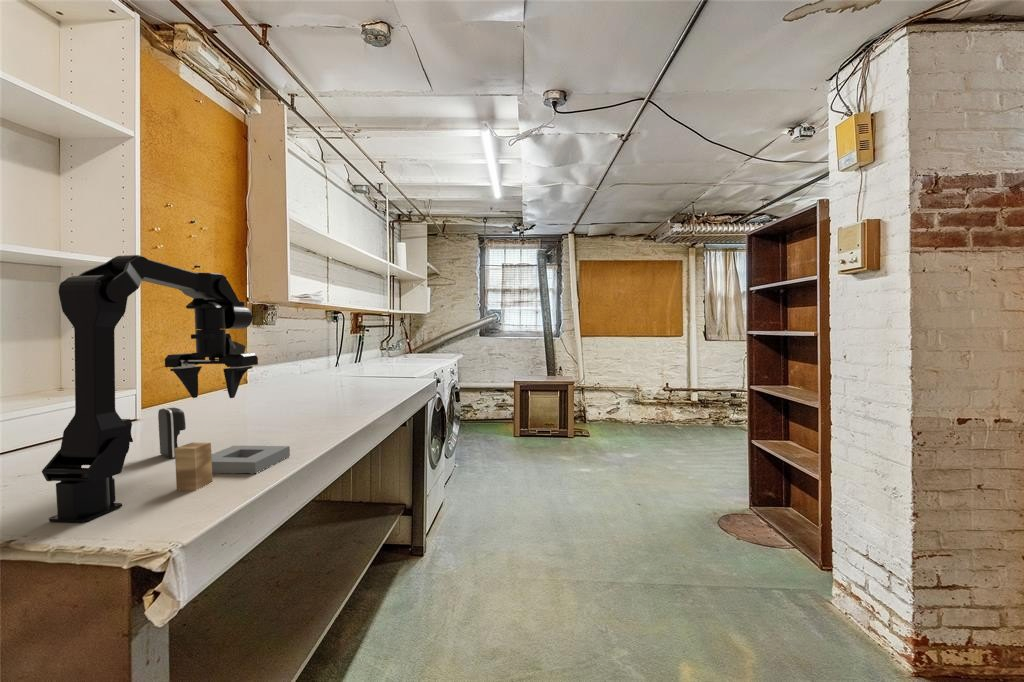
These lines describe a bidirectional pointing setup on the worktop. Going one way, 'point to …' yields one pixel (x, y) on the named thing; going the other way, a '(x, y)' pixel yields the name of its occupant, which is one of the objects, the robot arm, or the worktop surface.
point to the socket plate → (247, 458)
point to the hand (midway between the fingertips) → (213, 397)
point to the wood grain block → (193, 466)
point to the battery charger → (170, 429)
